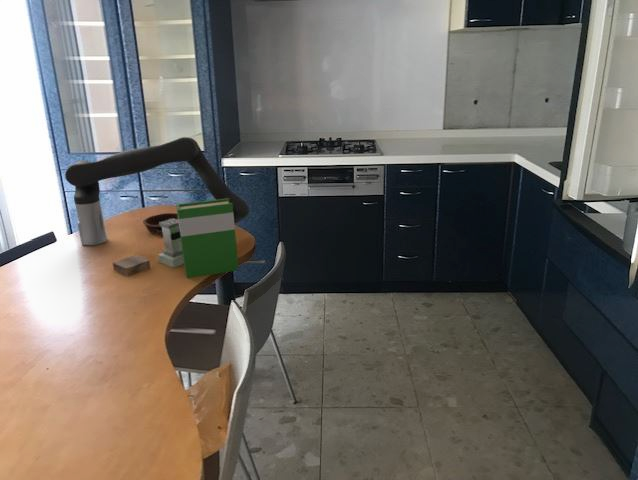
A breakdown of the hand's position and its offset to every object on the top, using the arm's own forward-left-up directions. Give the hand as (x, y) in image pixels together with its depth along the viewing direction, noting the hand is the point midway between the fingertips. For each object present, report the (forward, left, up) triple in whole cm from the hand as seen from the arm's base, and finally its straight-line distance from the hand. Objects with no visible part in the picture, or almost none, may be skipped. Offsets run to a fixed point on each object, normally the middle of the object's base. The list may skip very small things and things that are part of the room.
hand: (166, 235), depth 181 cm
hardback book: (+15, -10, -11) cm, 21 cm away
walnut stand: (-13, -2, -10) cm, 17 cm away
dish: (-6, +41, -11) cm, 43 cm away
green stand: (+2, +2, -10) cm, 11 cm away
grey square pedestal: (+2, +2, -7) cm, 8 cm away
